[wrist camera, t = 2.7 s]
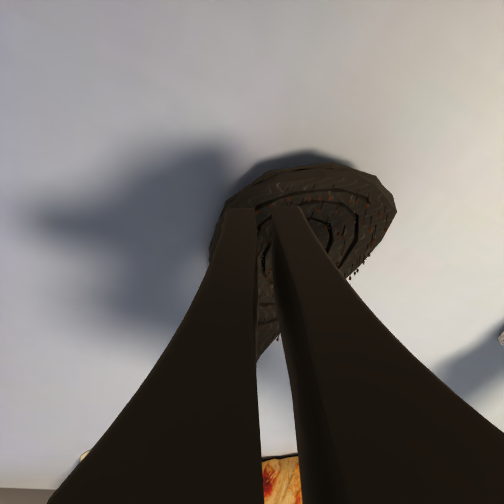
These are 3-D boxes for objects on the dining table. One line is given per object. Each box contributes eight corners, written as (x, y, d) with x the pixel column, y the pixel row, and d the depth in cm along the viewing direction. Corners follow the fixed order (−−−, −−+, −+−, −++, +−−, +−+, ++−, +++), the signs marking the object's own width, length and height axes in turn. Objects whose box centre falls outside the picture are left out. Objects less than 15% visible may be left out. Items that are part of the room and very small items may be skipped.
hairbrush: (159, 420, 32) (254, 170, 14) (164, 375, 34) (250, 113, 16) (259, 427, 34) (456, 216, 16) (257, 384, 36) (426, 159, 18)
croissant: (221, 441, 53) (216, 511, 50) (230, 457, 43) (224, 544, 41) (375, 447, 56) (376, 513, 53) (415, 463, 46) (419, 544, 44)
